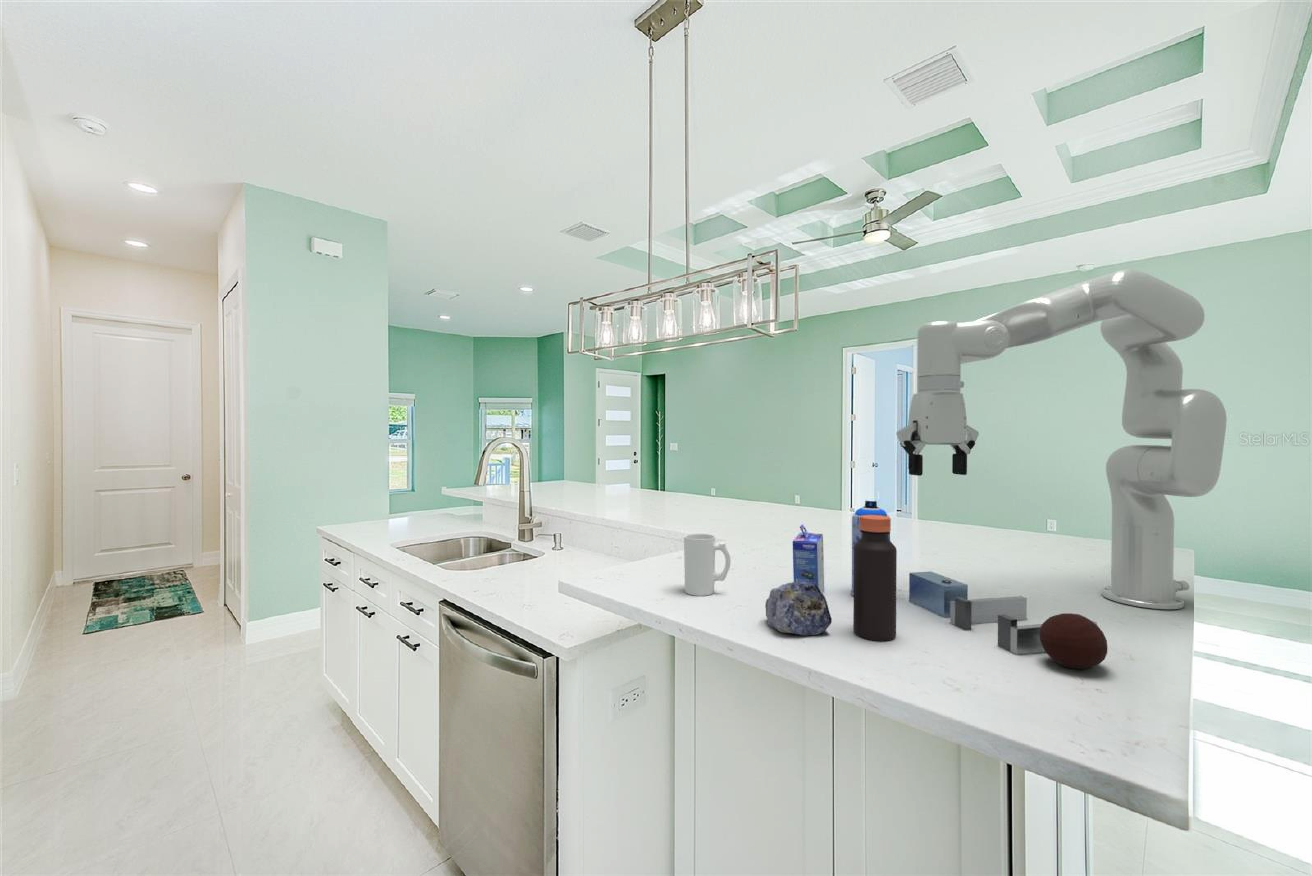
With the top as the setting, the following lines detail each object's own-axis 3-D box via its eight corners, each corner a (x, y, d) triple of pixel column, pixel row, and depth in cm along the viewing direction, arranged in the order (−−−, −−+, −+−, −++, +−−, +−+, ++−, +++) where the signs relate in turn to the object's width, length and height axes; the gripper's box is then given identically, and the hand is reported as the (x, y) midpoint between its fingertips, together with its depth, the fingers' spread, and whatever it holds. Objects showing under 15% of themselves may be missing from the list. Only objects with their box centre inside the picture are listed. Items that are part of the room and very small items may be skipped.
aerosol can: (848, 598, 114) (849, 501, 114) (852, 588, 122) (853, 497, 121) (890, 603, 111) (890, 504, 111) (891, 593, 118) (892, 499, 118)
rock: (845, 620, 94) (814, 568, 95) (797, 655, 91) (766, 601, 92) (816, 613, 104) (789, 566, 105) (773, 643, 102) (745, 595, 102)
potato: (1023, 659, 84) (1024, 608, 84) (1069, 652, 87) (1070, 603, 87) (1077, 682, 76) (1077, 626, 76) (1126, 674, 79) (1126, 620, 79)
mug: (680, 595, 117) (680, 538, 117) (688, 586, 123) (688, 532, 123) (727, 599, 114) (727, 541, 114) (733, 590, 120) (733, 535, 120)
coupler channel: (1021, 617, 103) (1021, 590, 103) (1096, 647, 89) (1097, 616, 88) (950, 623, 100) (950, 595, 100) (1016, 654, 86) (1017, 622, 86)
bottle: (887, 645, 90) (888, 521, 89) (846, 634, 94) (847, 517, 94) (902, 633, 95) (902, 516, 94) (862, 624, 99) (863, 512, 99)
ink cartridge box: (798, 586, 123) (799, 521, 123) (824, 589, 121) (824, 523, 121) (791, 598, 114) (791, 528, 114) (819, 602, 112) (819, 530, 112)
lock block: (930, 600, 113) (931, 570, 113) (967, 616, 104) (967, 583, 104) (909, 602, 112) (909, 571, 112) (943, 618, 103) (944, 585, 103)
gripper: (962, 388, 113) (962, 472, 113) (886, 387, 109) (886, 473, 110) (992, 385, 105) (991, 475, 106) (911, 384, 102) (910, 477, 102)
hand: (937, 474), depth 108 cm, fingers open, 9 cm apart
